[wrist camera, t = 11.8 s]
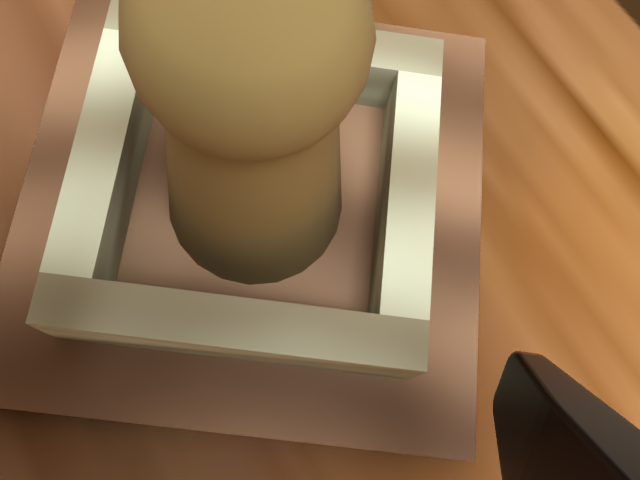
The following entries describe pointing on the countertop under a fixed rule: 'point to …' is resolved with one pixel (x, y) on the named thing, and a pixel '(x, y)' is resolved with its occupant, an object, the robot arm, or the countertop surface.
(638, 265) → the countertop surface
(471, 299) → the shaker holder
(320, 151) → the cork
